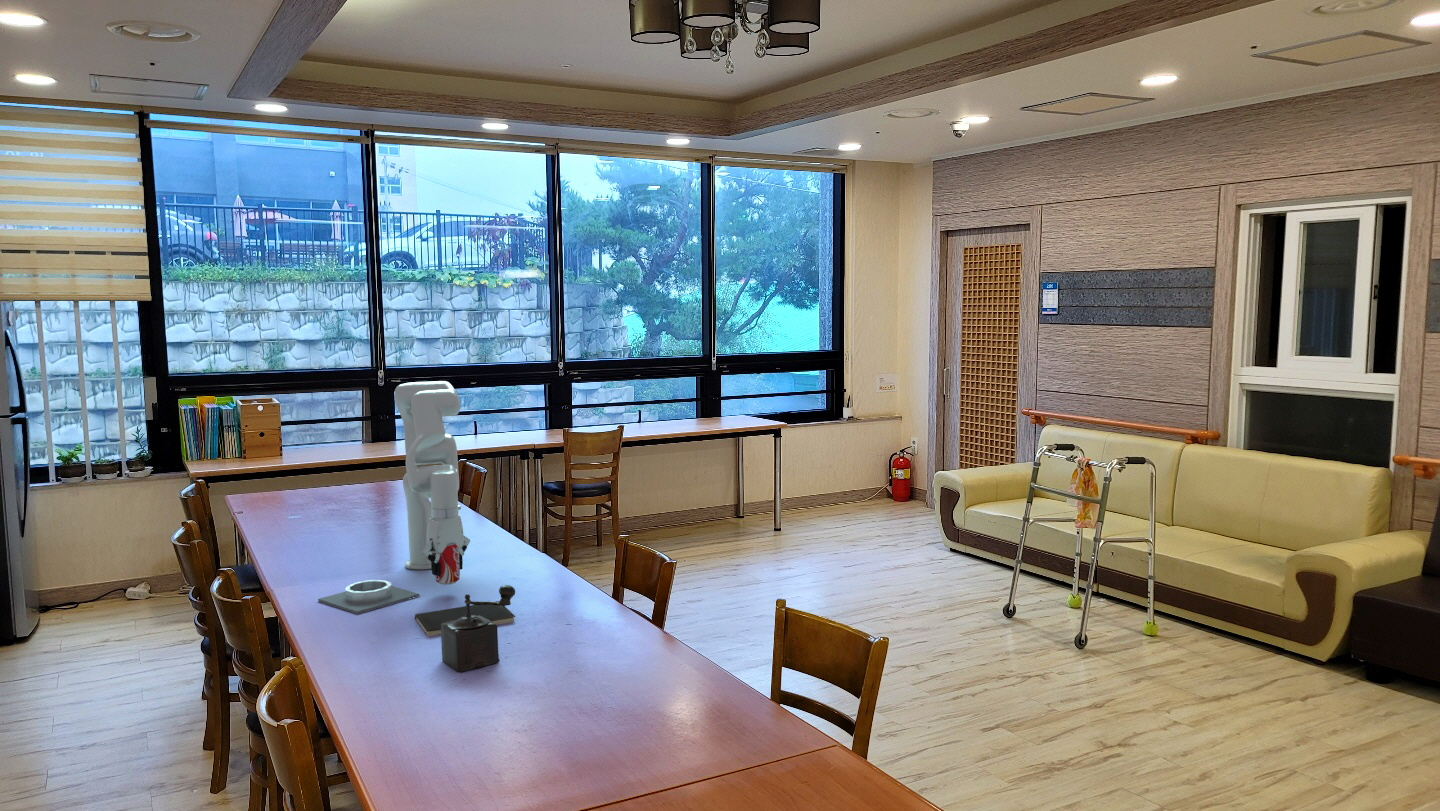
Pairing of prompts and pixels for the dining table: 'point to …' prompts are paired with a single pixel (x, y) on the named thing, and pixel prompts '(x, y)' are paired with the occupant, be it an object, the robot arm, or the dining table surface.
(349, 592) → the ring collar
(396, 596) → the mat
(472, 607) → the hardcover book
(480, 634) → the manual coffee grinder
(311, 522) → the dining table surface
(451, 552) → the soda can
